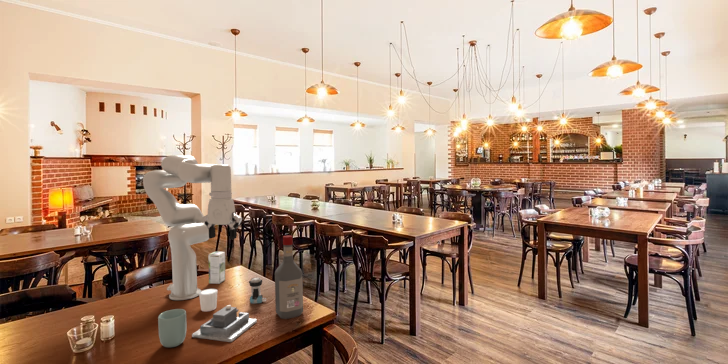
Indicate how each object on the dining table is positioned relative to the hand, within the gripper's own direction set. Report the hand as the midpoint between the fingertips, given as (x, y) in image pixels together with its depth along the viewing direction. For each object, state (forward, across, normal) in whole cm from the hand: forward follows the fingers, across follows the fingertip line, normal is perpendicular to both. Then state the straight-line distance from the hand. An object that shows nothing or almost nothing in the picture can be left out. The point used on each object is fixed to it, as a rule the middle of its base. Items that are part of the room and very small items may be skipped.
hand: (222, 238), depth 139 cm
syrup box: (+28, -24, +27) cm, 46 cm away
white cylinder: (+28, -6, -2) cm, 29 cm away
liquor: (+28, +28, +1) cm, 40 cm away
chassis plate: (+28, +12, -16) cm, 35 cm away
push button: (+28, +10, +8) cm, 31 cm away
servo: (+27, +12, -16) cm, 34 cm away
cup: (+28, +2, -29) cm, 41 cm away
